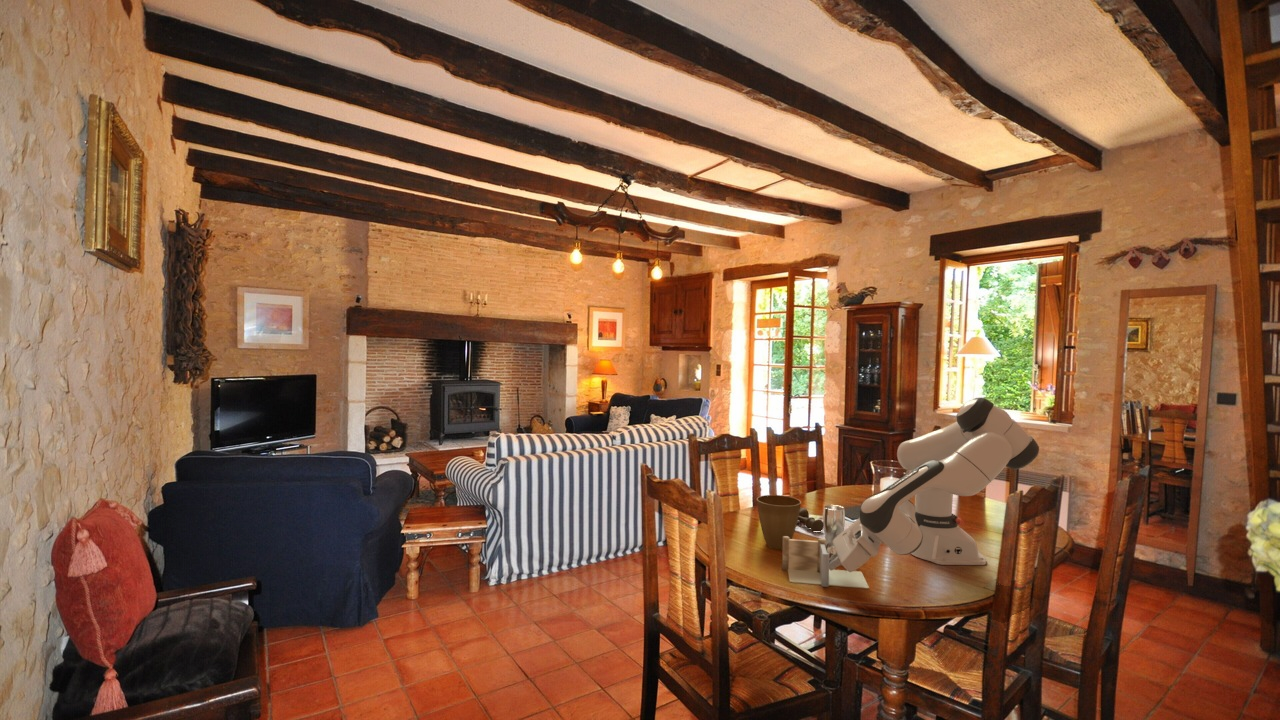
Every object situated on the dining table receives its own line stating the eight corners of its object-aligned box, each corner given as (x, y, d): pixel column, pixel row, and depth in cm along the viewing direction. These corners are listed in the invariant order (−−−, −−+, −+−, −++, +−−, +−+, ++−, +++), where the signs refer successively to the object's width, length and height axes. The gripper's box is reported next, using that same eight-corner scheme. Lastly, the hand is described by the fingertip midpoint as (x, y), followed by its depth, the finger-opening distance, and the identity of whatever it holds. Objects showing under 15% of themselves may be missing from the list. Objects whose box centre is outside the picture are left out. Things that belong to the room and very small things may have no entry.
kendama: (808, 536, 214) (774, 519, 232) (828, 533, 218) (794, 517, 236) (808, 520, 214) (775, 504, 232) (829, 517, 218) (795, 502, 236)
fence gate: (818, 572, 178) (818, 542, 177) (825, 572, 177) (825, 542, 177) (821, 586, 167) (822, 554, 167) (829, 587, 166) (829, 555, 166)
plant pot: (797, 556, 192) (797, 507, 192) (752, 549, 198) (752, 502, 197) (803, 542, 206) (803, 497, 205) (760, 536, 212) (761, 492, 211)
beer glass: (824, 546, 201) (824, 503, 201) (845, 550, 198) (846, 506, 198) (820, 553, 195) (821, 508, 194) (842, 556, 192) (843, 511, 191)
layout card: (861, 572, 179) (861, 571, 179) (869, 588, 167) (869, 587, 167) (787, 566, 183) (787, 565, 183) (789, 582, 171) (789, 581, 171)
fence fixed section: (824, 570, 180) (825, 538, 180) (825, 573, 177) (826, 541, 177) (782, 567, 182) (782, 535, 182) (782, 570, 180) (782, 538, 180)
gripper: (850, 517, 179) (816, 546, 181) (862, 538, 159) (824, 571, 161) (865, 532, 178) (831, 562, 180) (879, 556, 158) (841, 589, 160)
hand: (828, 566), depth 171 cm, fingers closed, pressing on fence gate
